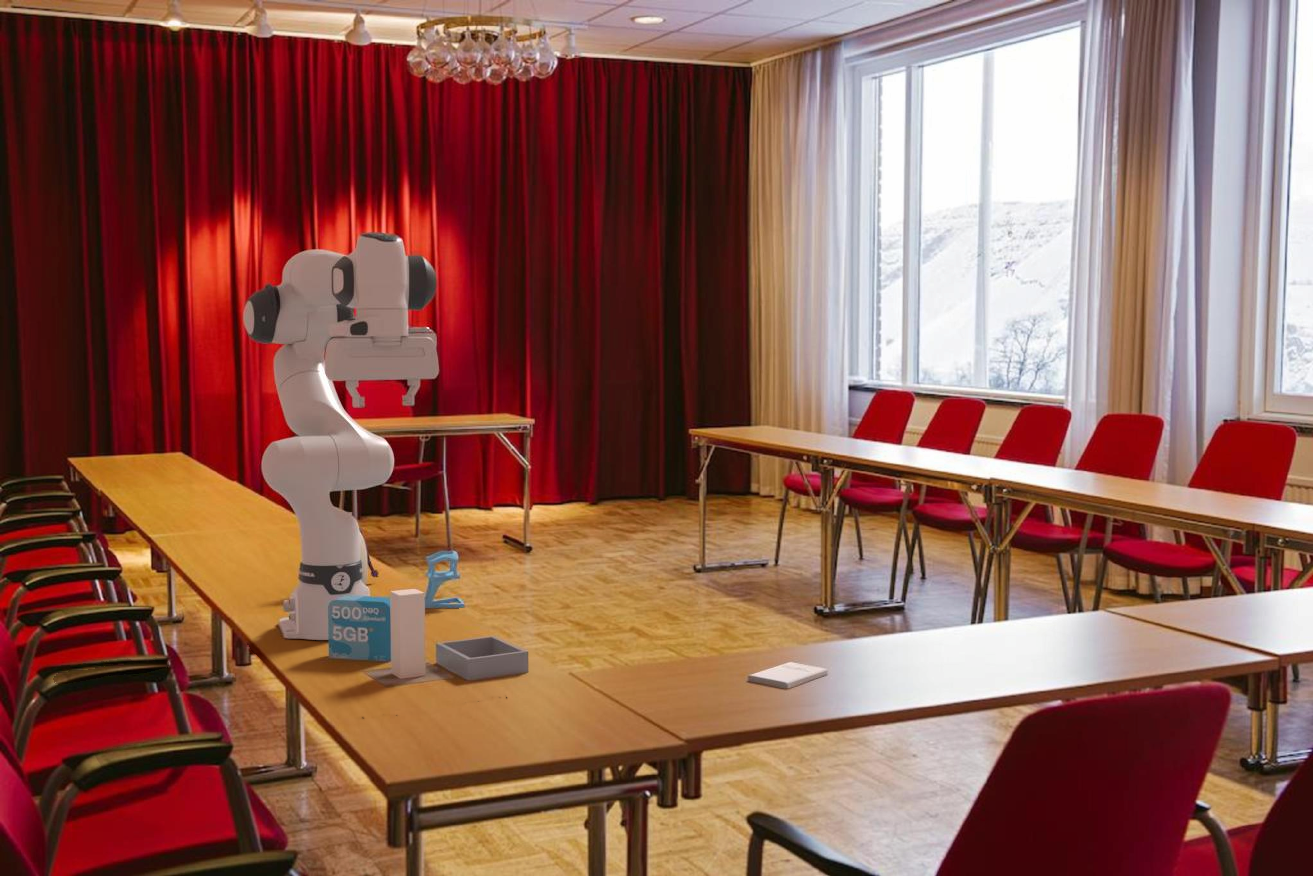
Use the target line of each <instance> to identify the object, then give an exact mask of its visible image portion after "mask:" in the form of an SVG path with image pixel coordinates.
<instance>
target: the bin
mask: <svg viewBox="0 0 1313 876" xmlns="http://www.w3.org/2000/svg"><path fill="white" fill-rule="evenodd" d="M435 663H436V664H437V665H438V666H441V667H442V668H444V669H446V670H448V671H450V672H452V673H453V674H455V675H458V677H461V678H463V679H465V680H466V681H469V682H470V681H475V680H482V679H490V678H496V677H504V676H510V675H517V674H525V673H529V651H528V650H526V649H523V648H521V647H519V646H517V645H515V644H513V643H511V642H508V641H506V640H504V639H502V638H500V637H498V636H496V635H490V636H482V637H481V636H480V637H473V638H465V639H458V640H451V641H442V642H435Z"/></svg>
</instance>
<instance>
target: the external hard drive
mask: <svg viewBox="0 0 1313 876" xmlns="http://www.w3.org/2000/svg"><path fill="white" fill-rule="evenodd" d="M828 672H829V671H828V669H827V668H824V667H819V666H815V665H814V666H813V665H809V664H802V663H797V662H793V661H789V662H785V663H783V664H780V665H776V666H773V667H771V668H768V669H764V670H761V671H758V672H755V673H752V674H748V675H747V681H748V682H751V683H757V684H762V685H766V686H771V687H777V688H781V689H787V690H788V689H791V688H794V687H798V686H799V685H802V684H805V683H808V682H811V681H814V680H816V679H820V678H822V677H824V676H828Z"/></svg>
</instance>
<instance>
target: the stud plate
mask: <svg viewBox="0 0 1313 876" xmlns="http://www.w3.org/2000/svg"><path fill="white" fill-rule="evenodd" d="M425 664H426V675H425V676H417V677H410V678H403V679H400V678H398V677H397V676H395V675H394V674H392V673H391V667H385V668H377V669H375V668H374V669H370V670H362V673H363V674H365V675H367V676H368V677H370V678H372V679H373V680H374V681H376V682H378V683H380V684H381V685H383V686H384V687H385V688H392V687H399V686H406V685H412V684H420V683H426V682H427V683H428V682H434V681H441V680H449V679H454V678H455V679H456V676H454V675H452V674H450V673H449V672H447V671H445V670H443V669H441V668H440V667H438V666H437V665H434V664H432V663H430V662H425Z"/></svg>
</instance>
